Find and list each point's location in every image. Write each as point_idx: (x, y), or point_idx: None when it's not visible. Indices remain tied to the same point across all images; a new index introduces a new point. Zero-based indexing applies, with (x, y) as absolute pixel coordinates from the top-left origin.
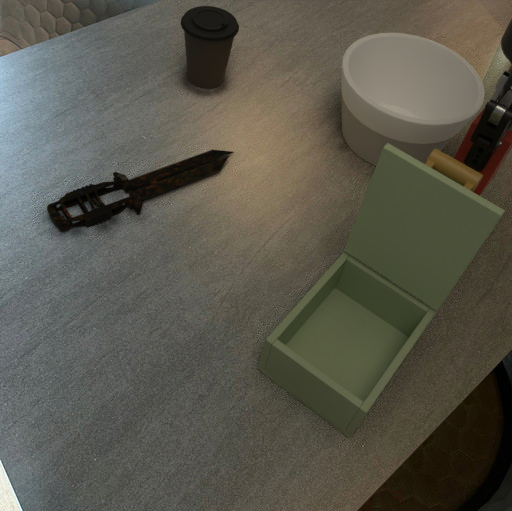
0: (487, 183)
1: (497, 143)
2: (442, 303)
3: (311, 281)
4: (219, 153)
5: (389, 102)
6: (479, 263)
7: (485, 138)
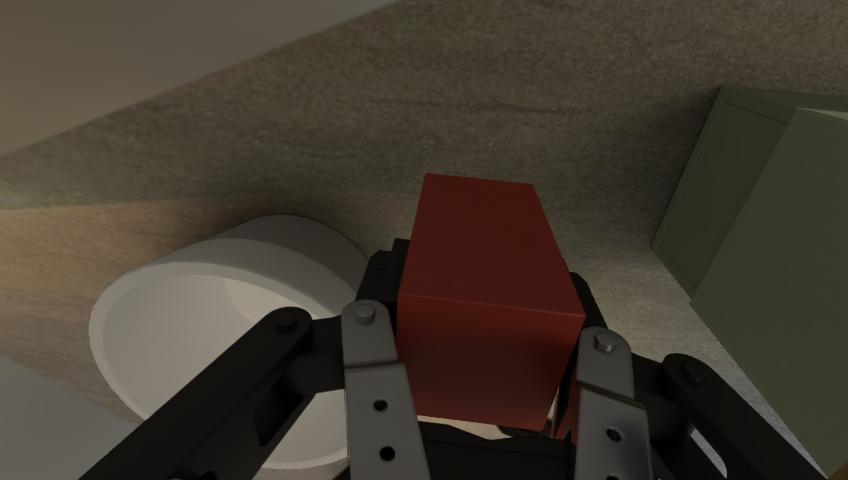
0: (528, 201)
1: (739, 409)
2: (836, 117)
3: (656, 269)
4: (504, 427)
5: (239, 315)
6: (469, 44)
7: (691, 428)
